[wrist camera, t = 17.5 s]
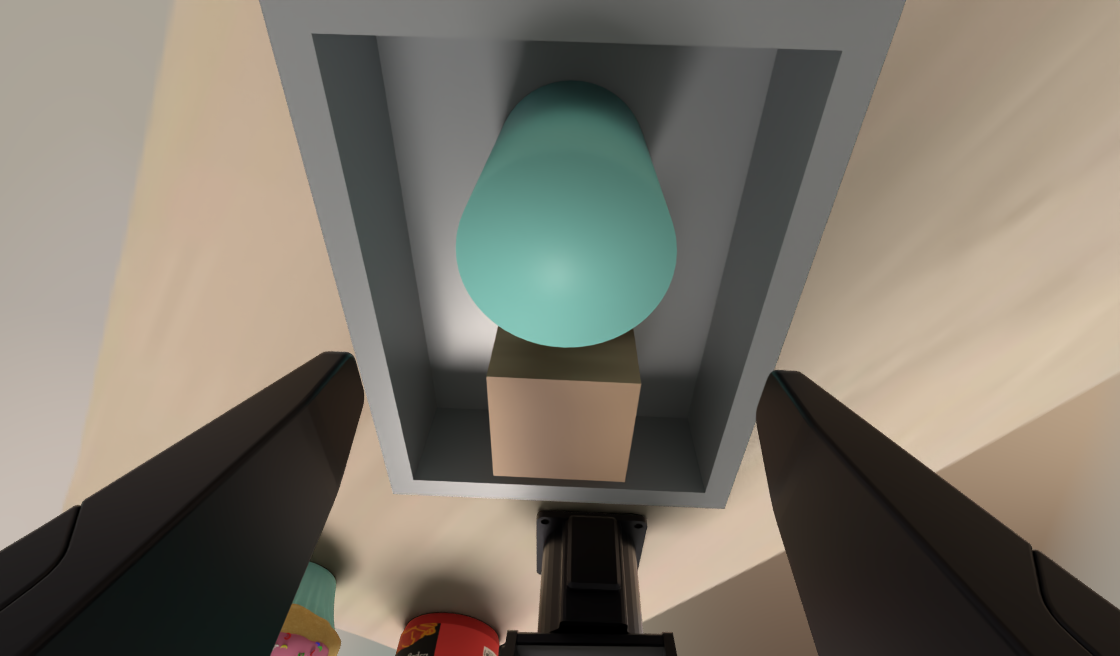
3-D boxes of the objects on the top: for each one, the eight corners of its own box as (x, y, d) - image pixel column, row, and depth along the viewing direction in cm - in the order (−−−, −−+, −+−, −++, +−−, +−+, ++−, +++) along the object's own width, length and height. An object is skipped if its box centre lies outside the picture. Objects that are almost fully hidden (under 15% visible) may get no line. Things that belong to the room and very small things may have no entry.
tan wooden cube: (629, 300, 20) (641, 383, 16) (617, 391, 23) (624, 482, 19) (505, 294, 20) (486, 376, 16) (508, 386, 23) (493, 475, 19)
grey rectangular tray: (701, 421, 25) (724, 508, 21) (423, 409, 26) (393, 493, 21) (817, -11, 15) (905, -2, 11) (341, -26, 15) (253, -22, 11)
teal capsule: (653, 80, 16) (693, 151, 10) (638, 230, 19) (662, 349, 13) (491, 79, 16) (440, 148, 10) (502, 227, 19) (468, 345, 13)
